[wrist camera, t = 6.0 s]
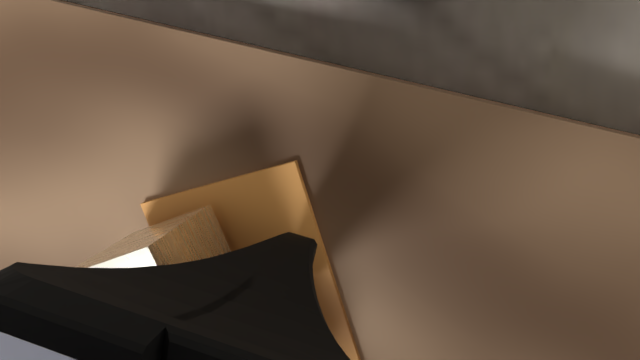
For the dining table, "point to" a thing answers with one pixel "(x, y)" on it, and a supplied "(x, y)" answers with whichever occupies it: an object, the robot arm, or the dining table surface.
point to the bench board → (324, 184)
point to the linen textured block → (166, 243)
